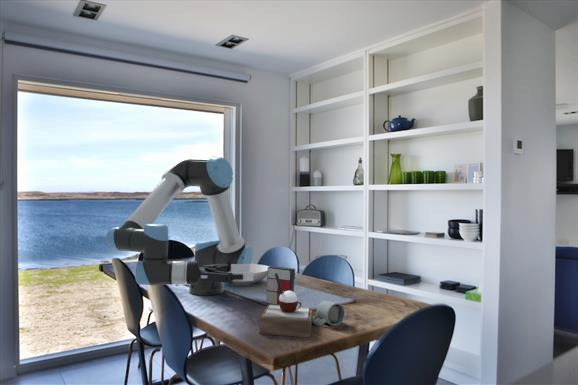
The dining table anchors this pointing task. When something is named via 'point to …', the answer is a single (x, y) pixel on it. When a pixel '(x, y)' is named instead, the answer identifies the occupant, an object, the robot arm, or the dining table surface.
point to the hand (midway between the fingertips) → (251, 272)
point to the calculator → (286, 283)
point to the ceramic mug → (329, 313)
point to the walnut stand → (286, 321)
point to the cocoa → (287, 299)
